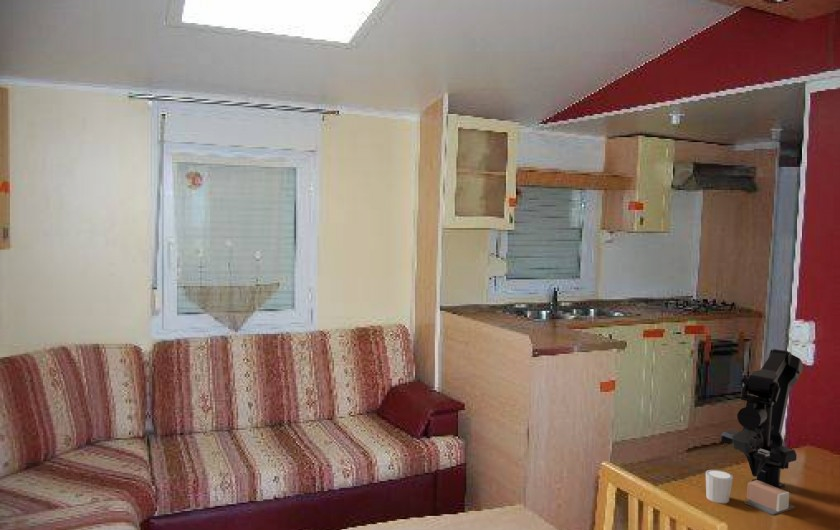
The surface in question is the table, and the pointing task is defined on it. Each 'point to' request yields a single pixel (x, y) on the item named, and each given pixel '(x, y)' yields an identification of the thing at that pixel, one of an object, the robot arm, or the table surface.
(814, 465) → the table surface
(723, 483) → the white cup
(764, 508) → the mat
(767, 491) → the block
